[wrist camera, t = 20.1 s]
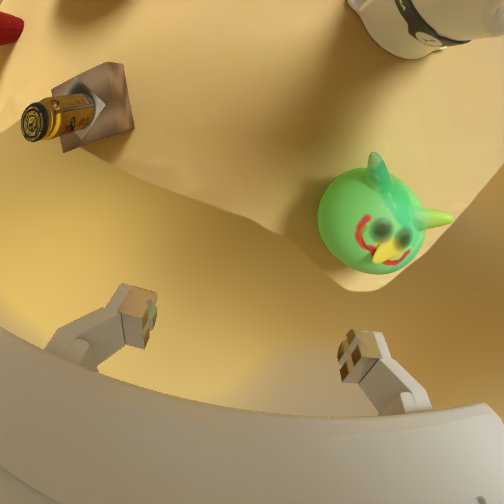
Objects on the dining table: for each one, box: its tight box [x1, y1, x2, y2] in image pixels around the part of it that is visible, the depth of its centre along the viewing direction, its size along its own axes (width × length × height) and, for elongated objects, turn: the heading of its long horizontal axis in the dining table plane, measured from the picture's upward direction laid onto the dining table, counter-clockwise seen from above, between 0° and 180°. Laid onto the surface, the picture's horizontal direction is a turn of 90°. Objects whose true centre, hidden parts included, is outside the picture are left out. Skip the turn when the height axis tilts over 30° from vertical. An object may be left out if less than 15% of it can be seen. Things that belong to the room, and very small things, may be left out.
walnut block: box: [51, 62, 135, 153], centre depth 36 cm, size 12×12×6 cm
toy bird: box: [317, 152, 453, 274], centre depth 40 cm, size 18×17×15 cm
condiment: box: [21, 76, 106, 142], centre depth 29 cm, size 7×8×12 cm
